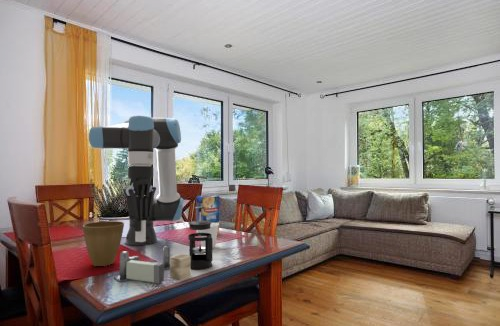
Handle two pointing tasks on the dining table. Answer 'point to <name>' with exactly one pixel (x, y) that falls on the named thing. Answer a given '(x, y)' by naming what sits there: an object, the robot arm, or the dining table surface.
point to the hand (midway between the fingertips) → (140, 241)
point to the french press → (200, 259)
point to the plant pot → (103, 241)
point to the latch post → (166, 257)
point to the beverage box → (208, 209)
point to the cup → (213, 231)
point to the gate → (145, 271)
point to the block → (180, 266)
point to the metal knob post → (124, 265)
